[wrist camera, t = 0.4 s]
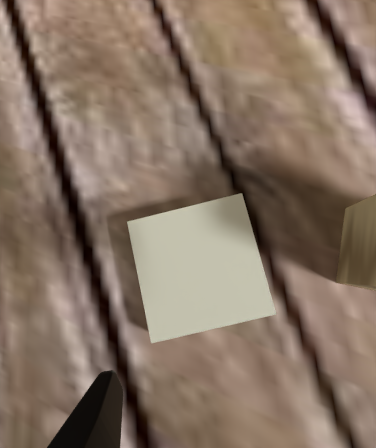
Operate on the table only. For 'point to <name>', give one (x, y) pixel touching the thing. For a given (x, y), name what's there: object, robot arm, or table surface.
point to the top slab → (199, 268)
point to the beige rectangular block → (358, 246)
